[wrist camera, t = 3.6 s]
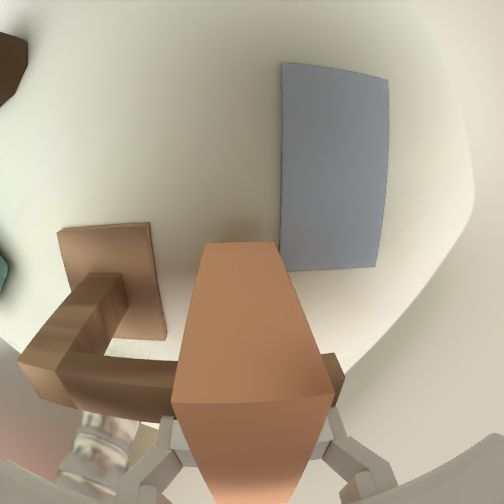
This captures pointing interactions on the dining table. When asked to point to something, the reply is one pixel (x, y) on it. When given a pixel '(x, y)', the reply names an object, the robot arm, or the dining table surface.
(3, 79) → the beer bottle
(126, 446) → the plastic bottle
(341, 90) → the felt mat
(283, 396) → the c link
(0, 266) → the flower pot
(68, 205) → the dining table surface
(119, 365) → the brown wooden angular piece
